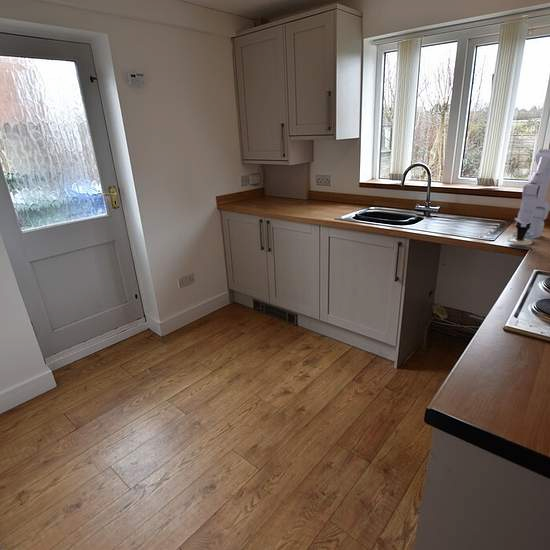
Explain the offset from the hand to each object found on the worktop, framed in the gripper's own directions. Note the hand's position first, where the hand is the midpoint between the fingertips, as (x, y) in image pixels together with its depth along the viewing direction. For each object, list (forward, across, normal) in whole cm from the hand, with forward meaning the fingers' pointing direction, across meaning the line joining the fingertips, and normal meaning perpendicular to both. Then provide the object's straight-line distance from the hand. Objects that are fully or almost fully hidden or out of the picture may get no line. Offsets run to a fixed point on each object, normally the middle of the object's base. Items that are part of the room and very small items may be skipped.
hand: (520, 238), depth 176 cm
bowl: (+4, -11, +1) cm, 12 cm away
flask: (+5, -44, +1) cm, 44 cm away
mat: (+4, 0, 0) cm, 4 cm away
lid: (+2, 0, 0) cm, 2 cm away
